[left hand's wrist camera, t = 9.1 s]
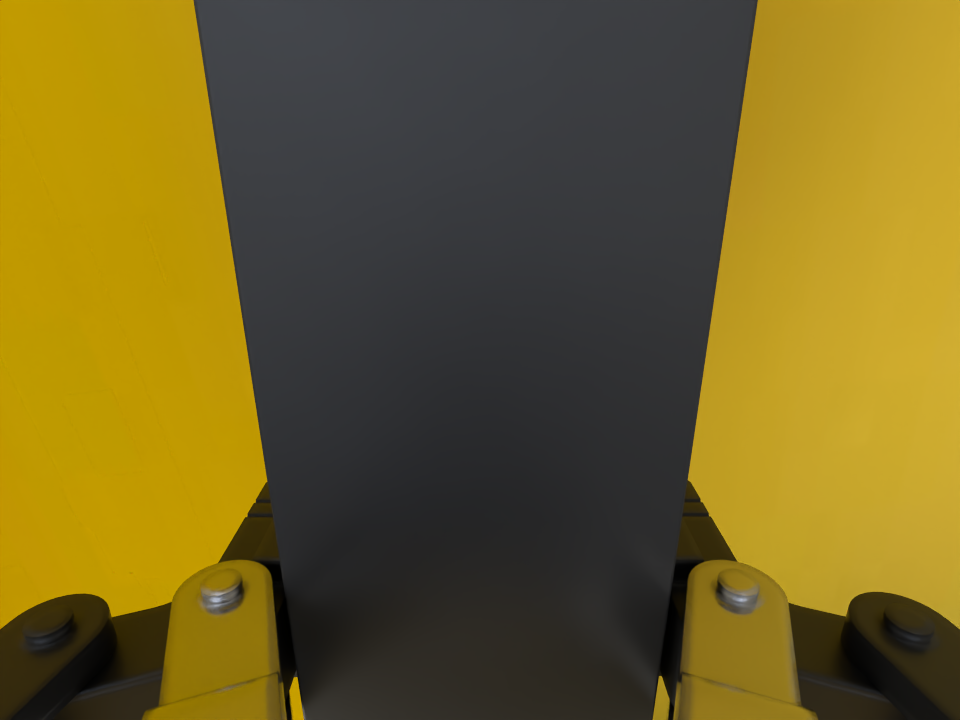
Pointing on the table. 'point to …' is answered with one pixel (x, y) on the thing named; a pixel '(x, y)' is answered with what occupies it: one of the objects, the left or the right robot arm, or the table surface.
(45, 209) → the table surface
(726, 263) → the table surface
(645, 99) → the bar
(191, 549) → the table surface
